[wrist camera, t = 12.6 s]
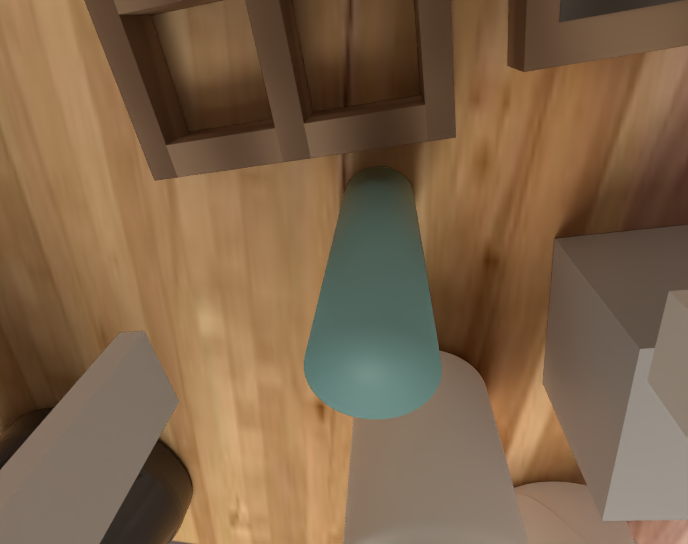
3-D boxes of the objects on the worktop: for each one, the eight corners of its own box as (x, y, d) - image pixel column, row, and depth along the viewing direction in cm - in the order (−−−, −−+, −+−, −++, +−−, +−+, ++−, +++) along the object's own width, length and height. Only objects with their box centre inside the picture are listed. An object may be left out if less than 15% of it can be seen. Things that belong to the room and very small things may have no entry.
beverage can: (381, 324, 25) (378, 537, 15) (509, 364, 26) (591, 594, 15) (339, 414, 29) (314, 630, 19) (451, 446, 30) (485, 672, 20)
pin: (349, 237, 22) (317, 422, 12) (337, 171, 21) (290, 322, 10) (417, 229, 22) (445, 416, 12) (411, 161, 20) (438, 309, 10)
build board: (178, 164, 21) (154, 180, 19) (112, -20, 18) (74, -26, 15) (447, 124, 19) (455, 137, 17) (438, -93, 16) (447, -111, 13)
